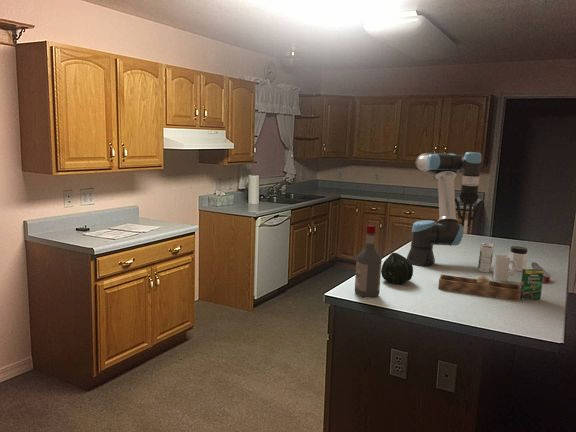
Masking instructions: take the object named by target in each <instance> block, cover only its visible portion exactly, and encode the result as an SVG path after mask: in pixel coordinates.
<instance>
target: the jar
mask: <svg viewBox="0 0 576 432" xmlns="http://www.w3.org/2000/svg"><path fill="white" fill-rule="evenodd" d="M528 255H529V253H528V247H525V246H519V245H513V246H510V251H509V253H508V256H510V260H511V261H512V260H515V263H516V271H515V272H522V270H523V269H527V264H528ZM508 270H511V271H513V270H514V265H513V264H512V263H509V269H508Z"/></svg>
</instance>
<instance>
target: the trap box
mask: <svg viewBox="0 0 576 432" xmlns="http://www.w3.org/2000/svg"><path fill="white" fill-rule="evenodd" d="M437 289H438V290H441V289H444V290H443V291H448V290H450V292H455V291H457V293H462V292H464V293H463V294H469V293H470V295H476V294H477V296H483V297H489V296H491V298H496V297H497V299H504V300H509V301H510V300H511V301H517V302H518V301H519V302H521V298H520V296H521V284H516V283H508V282H507V283H506V282H502V281H495V280H492V281H491V280H489V286H486V285H479V284H477V278H472V277H471V278H470V277H464V276H463V277H462V276H454V275H449V274H442V273H441V274H440V276H439V279H438V288H437Z"/></svg>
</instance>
